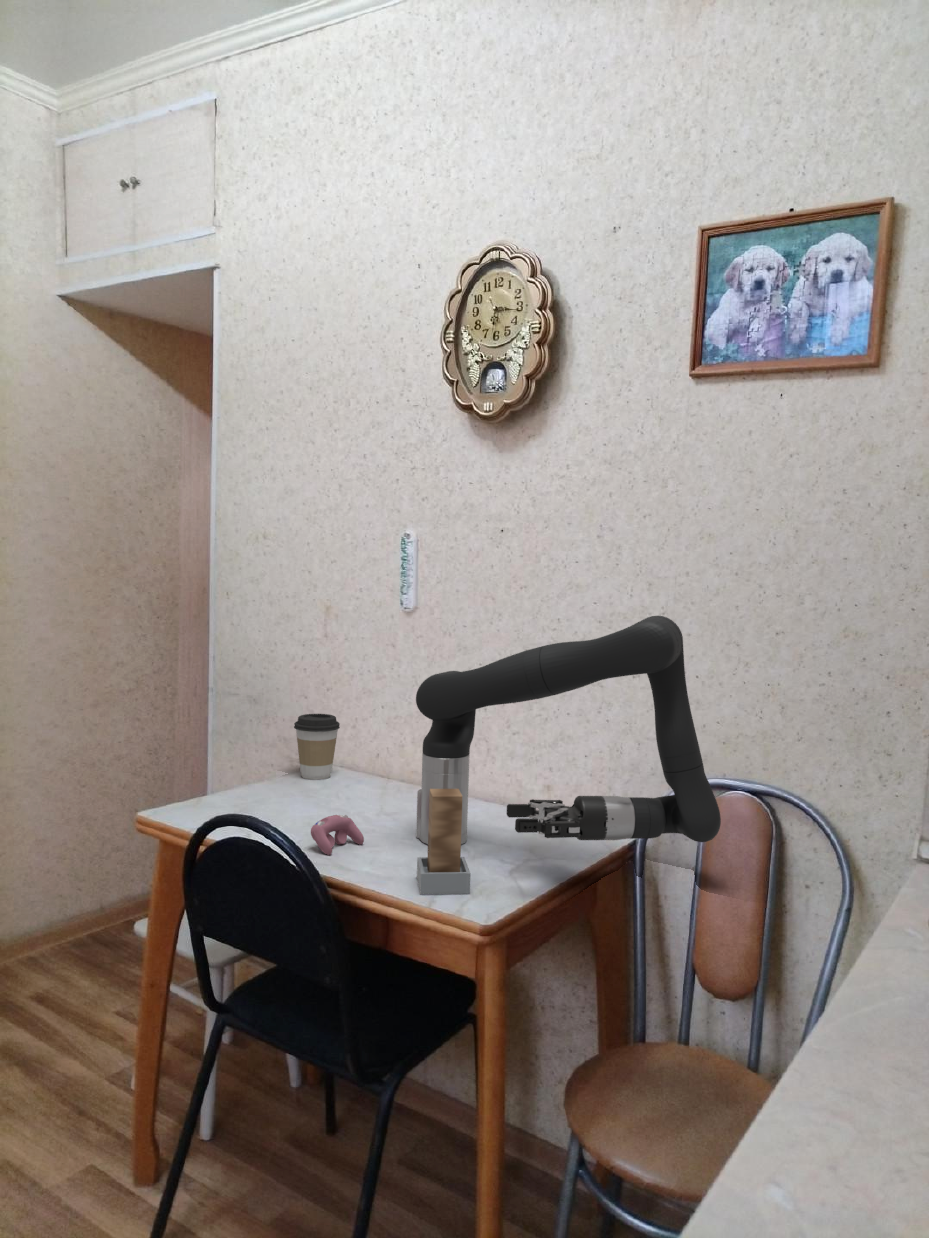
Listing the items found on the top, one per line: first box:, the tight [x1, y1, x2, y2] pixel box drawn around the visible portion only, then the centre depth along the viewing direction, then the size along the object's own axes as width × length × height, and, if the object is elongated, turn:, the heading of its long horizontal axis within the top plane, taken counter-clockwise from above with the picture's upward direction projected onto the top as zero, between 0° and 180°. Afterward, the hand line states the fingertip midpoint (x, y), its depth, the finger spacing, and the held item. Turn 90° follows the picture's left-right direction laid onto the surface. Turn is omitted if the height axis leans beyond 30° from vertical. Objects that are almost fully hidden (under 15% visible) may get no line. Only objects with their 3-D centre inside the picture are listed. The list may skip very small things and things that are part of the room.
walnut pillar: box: [427, 789, 462, 873], centre depth 153 cm, size 5×5×14 cm
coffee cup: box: [293, 713, 341, 781], centre depth 224 cm, size 11×11×15 cm
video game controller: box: [310, 814, 365, 856], centre depth 171 cm, size 10×5×7 cm, turn 142°
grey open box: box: [416, 856, 471, 896], centre depth 153 cm, size 8×8×4 cm
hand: (511, 817), depth 154 cm, fingers open, 8 cm apart
